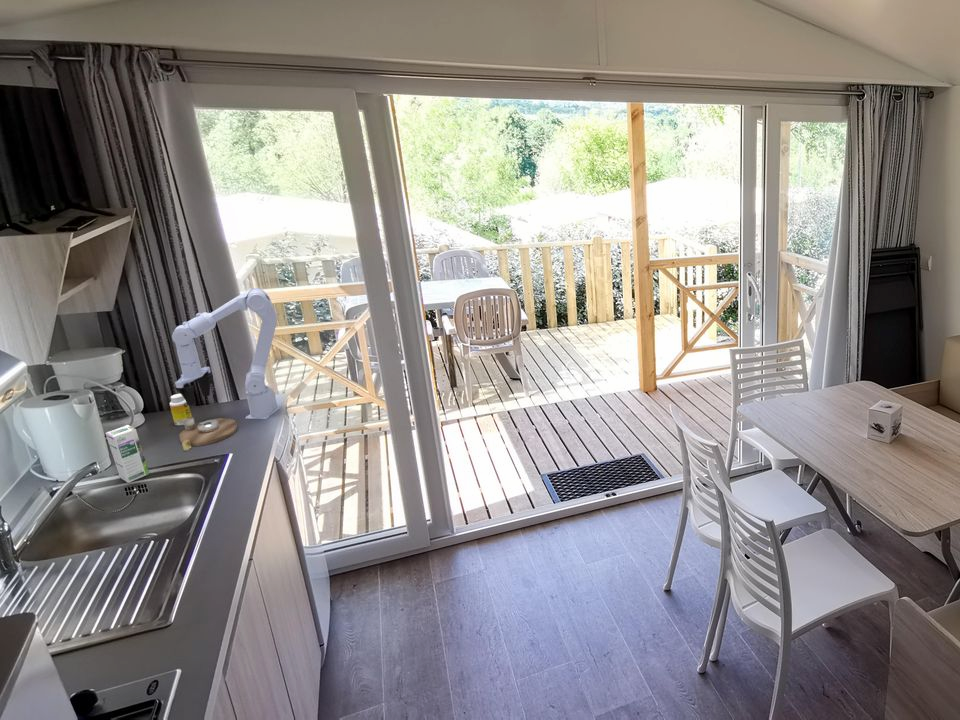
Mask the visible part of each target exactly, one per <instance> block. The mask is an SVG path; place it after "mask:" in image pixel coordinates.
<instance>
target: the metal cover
mask: <svg viewBox="0 0 960 720" xmlns="http://www.w3.org/2000/svg"><path fill="white" fill-rule="evenodd" d="M203 421H204V422H202V421H200V422H201V423H199V422H198V423H199V424H198V430H199V433H210V432H213V431H215V430H217V429H218V428H219V425H218V421H217V420H210V419H207V421H206V420H203Z"/></svg>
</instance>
